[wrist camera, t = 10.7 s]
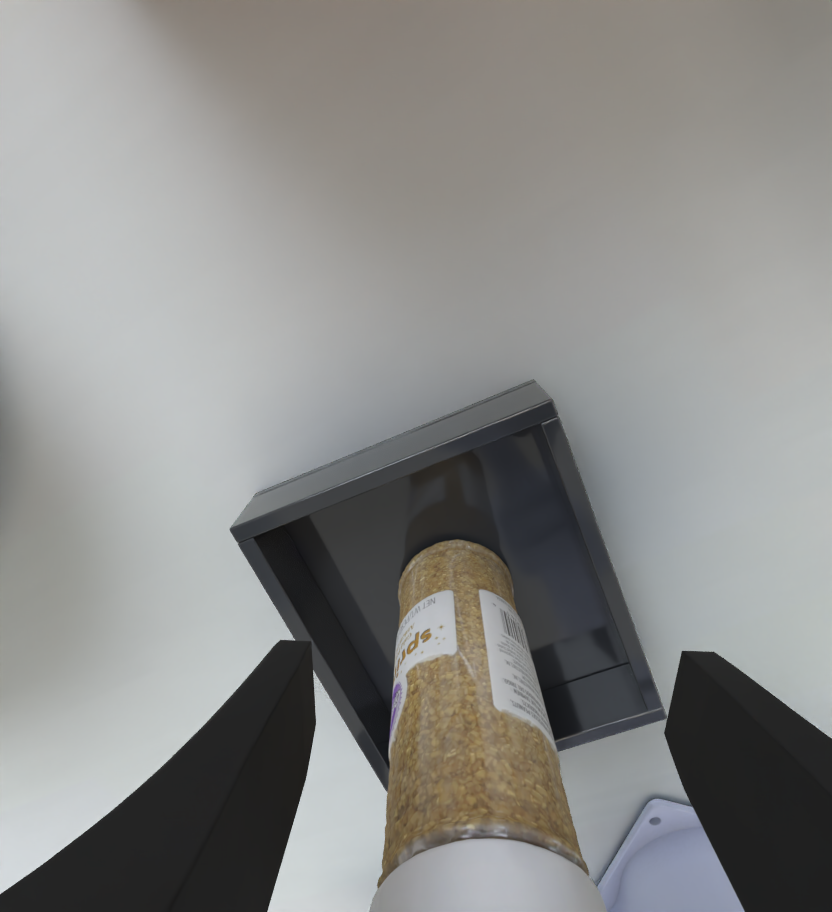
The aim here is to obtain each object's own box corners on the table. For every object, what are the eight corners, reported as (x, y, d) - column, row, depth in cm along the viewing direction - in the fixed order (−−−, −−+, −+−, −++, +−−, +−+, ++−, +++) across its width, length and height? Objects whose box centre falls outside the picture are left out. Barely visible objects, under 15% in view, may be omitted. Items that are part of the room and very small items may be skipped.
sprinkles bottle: (389, 543, 21) (331, 971, 8) (508, 528, 21) (638, 948, 8) (408, 642, 22) (383, 1133, 10) (519, 629, 22) (643, 1120, 9)
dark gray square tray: (638, 663, 23) (668, 719, 20) (396, 741, 25) (392, 802, 22) (534, 378, 19) (552, 398, 16) (255, 493, 21) (228, 529, 18)
